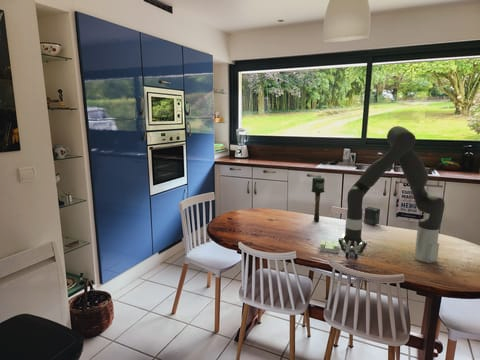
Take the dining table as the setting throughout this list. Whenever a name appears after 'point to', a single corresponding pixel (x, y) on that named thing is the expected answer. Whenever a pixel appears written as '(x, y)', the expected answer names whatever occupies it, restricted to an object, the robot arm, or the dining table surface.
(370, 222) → the box
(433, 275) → the dining table surface
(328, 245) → the cradle
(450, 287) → the dining table surface
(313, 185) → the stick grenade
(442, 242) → the dining table surface
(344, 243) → the bore block
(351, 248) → the axle
